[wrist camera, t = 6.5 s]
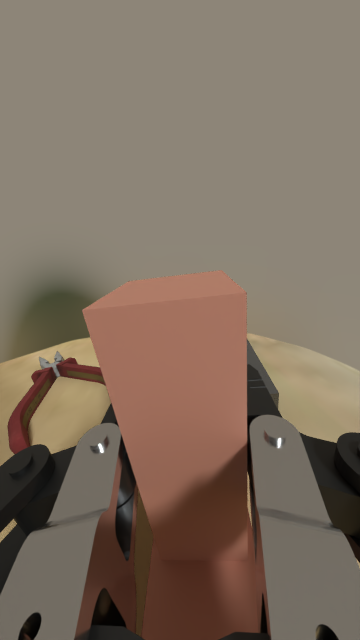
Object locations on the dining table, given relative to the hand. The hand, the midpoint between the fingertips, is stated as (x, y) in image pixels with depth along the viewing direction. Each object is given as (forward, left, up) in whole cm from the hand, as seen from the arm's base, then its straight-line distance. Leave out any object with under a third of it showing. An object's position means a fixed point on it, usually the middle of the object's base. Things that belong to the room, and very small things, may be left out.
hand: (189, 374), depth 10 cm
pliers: (-18, +14, -11) cm, 25 cm away
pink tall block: (0, -3, -10) cm, 10 cm away
